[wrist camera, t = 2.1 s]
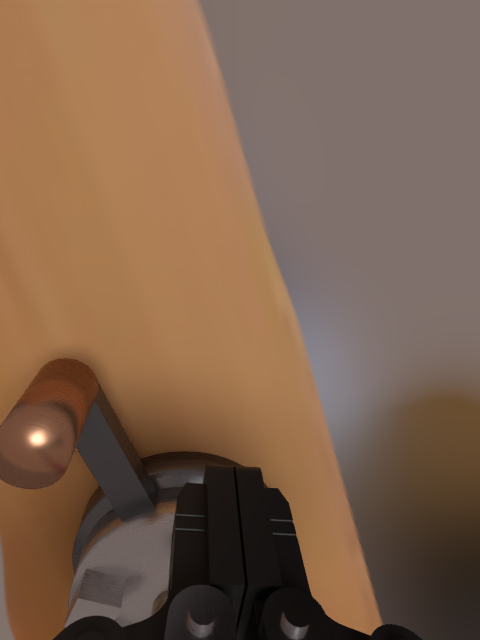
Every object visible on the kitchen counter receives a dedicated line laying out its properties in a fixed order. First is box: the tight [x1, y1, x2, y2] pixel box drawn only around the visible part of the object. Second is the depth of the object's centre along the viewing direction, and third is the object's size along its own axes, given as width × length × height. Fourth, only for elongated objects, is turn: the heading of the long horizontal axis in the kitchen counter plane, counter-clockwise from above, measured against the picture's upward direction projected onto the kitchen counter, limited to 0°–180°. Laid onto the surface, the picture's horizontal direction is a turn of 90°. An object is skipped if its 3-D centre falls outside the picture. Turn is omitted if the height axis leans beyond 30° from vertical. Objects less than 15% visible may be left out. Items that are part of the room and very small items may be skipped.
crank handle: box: [0, 358, 183, 628], centre depth 21 cm, size 20×11×6 cm, turn 19°
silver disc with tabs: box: [73, 452, 268, 574], centre depth 26 cm, size 12×12×2 cm
